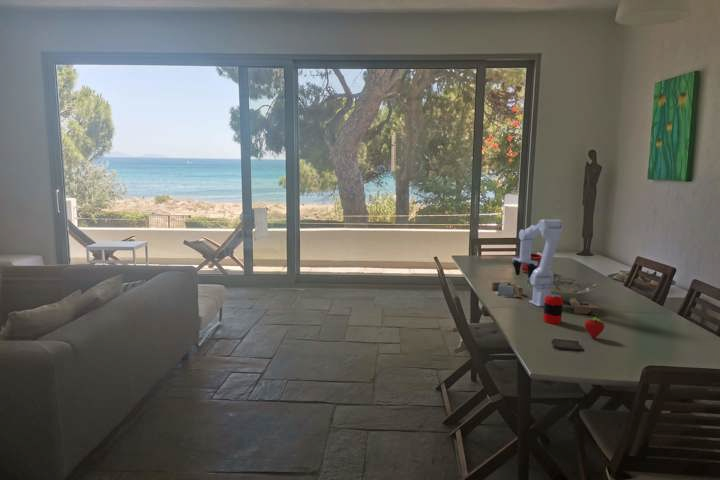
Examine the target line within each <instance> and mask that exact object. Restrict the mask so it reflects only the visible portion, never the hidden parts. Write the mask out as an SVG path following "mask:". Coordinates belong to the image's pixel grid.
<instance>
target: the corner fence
mask: <svg viewBox="0 0 720 480" xmlns="http://www.w3.org/2000/svg"><path fill="white" fill-rule="evenodd" d="M500 283H508V285H509V286H515V288H514V294H515V295H517V296H518V297H522V296H523V287H522V286H520V285H518V284H515V283H513V282H512V281H505V282H504V281H502V282H501V281H500V282H499V281H498V282H497V281H496V282H494V281H493V282H492V283H491V291H492V292H498V286H499V284H500Z"/></svg>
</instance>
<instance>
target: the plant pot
mask: <svg viewBox="0 0 720 480" xmlns="http://www.w3.org/2000/svg"><path fill="white" fill-rule="evenodd" d="M541 258H542V254H537V253H533V252H531V259H530V260H533V261H537V262H538V265H537V267H536V268H535V269H537V268H538V267H539V265H540V261H541ZM528 265H530V264H526V263H521V267H522V268H520V271H522V272H523V273H525V272H526V273H525V274H528Z"/></svg>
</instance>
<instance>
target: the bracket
mask: <svg viewBox="0 0 720 480" xmlns="http://www.w3.org/2000/svg"><path fill="white" fill-rule="evenodd" d="M514 288H515V286H509V285H508V283H500V284H499V286H498V291H497V292H498V294H497V296H500V295H502V296H510V297H509V298H514V297H513V296H514V294H515V293H514ZM502 296H501V297H502Z"/></svg>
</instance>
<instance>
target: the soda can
mask: <svg viewBox="0 0 720 480" xmlns="http://www.w3.org/2000/svg"><path fill="white" fill-rule="evenodd" d="M563 304H564V299H563V296H561V295H560V294H554V293H551V294H548V295H547V296H546V297H545V304H544V306H543V307H544V308H543V318H542V320H543V322H545V323H547V324H551V325H558V324H561V323H562V318H563V317H562V316H563V306H564V305H563Z"/></svg>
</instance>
